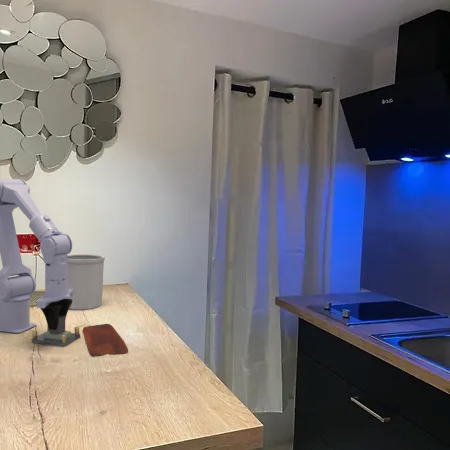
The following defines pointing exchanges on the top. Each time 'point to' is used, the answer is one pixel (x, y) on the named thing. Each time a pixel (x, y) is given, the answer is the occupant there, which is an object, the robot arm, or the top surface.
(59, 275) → the robot arm
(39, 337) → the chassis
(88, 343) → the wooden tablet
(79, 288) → the utensil holder
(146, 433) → the top surface
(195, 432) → the top surface
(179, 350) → the top surface
